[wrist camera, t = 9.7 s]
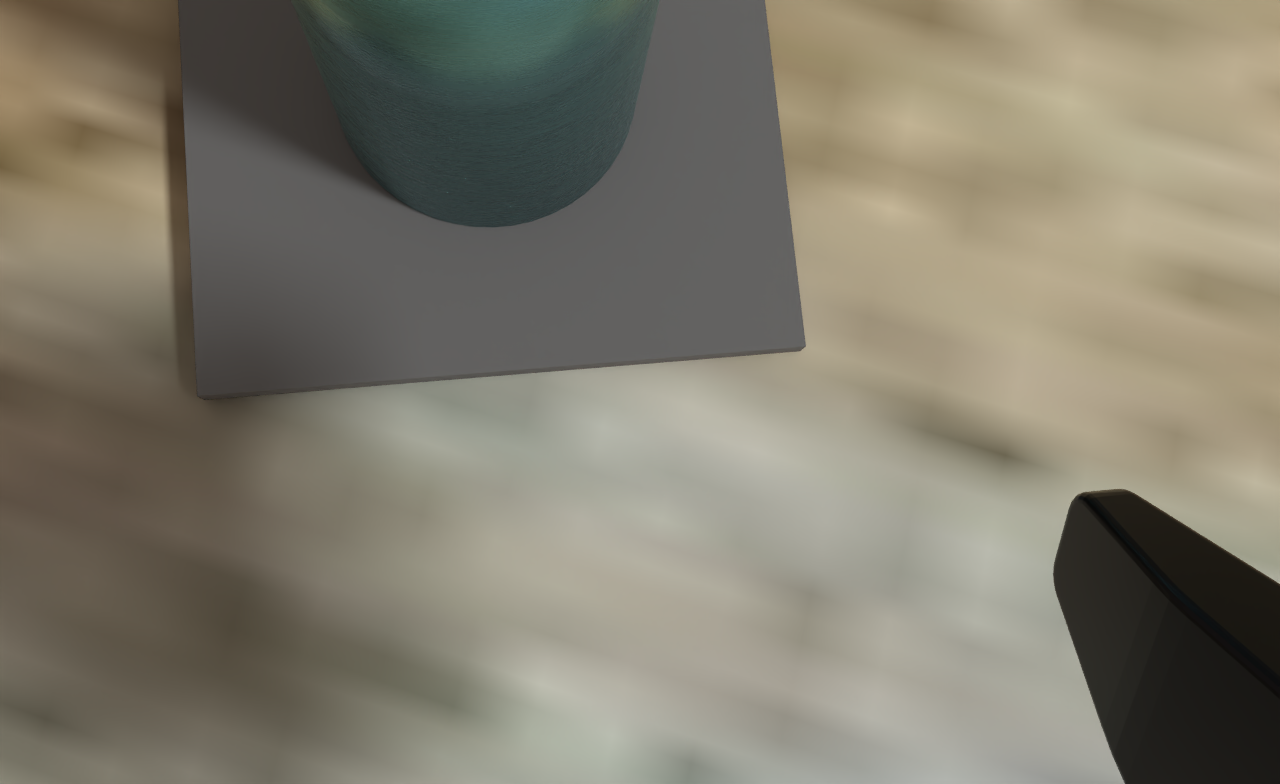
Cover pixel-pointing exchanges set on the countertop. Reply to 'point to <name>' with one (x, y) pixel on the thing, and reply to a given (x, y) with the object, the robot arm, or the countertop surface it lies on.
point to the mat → (479, 256)
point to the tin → (482, 97)
